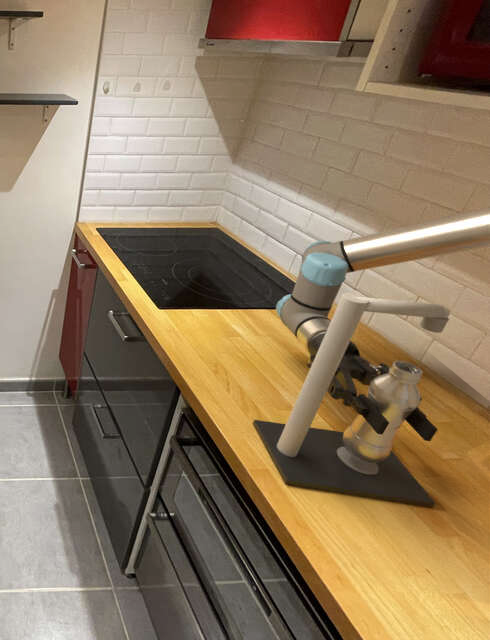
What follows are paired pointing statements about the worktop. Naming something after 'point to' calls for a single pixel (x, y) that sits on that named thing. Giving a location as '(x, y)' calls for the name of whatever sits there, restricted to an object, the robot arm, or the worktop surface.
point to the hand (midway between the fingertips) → (406, 431)
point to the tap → (326, 445)
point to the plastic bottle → (384, 412)
